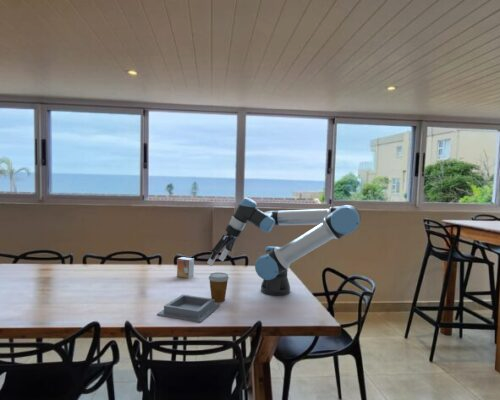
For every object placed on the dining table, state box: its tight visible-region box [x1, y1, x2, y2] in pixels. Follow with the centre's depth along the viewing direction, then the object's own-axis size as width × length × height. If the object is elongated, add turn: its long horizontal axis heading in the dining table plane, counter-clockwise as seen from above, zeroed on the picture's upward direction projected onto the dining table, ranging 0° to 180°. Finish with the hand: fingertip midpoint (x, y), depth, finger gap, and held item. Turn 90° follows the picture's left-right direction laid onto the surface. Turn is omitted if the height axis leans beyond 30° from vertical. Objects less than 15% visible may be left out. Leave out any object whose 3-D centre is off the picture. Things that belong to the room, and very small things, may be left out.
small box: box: [176, 256, 195, 279], centre depth 207 cm, size 8×6×10 cm
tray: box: [156, 294, 221, 323], centre depth 155 cm, size 20×20×4 cm
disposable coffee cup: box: [208, 272, 230, 303], centre depth 169 cm, size 10×10×12 cm
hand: (215, 262), depth 180 cm, fingers open, 13 cm apart
